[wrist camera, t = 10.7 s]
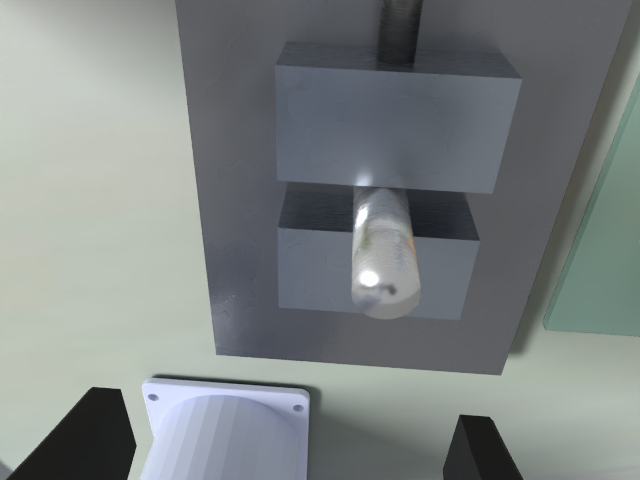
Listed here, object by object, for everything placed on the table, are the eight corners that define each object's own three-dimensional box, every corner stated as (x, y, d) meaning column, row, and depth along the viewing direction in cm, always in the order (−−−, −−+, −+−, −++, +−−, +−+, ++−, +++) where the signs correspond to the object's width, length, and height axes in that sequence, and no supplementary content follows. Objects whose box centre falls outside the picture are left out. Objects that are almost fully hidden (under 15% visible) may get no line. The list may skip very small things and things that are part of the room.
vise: (494, 353, 23) (540, 514, 17) (222, 334, 23) (177, 485, 17) (668, -170, 12) (932, -206, 7) (168, -190, 13) (13, -241, 7)
